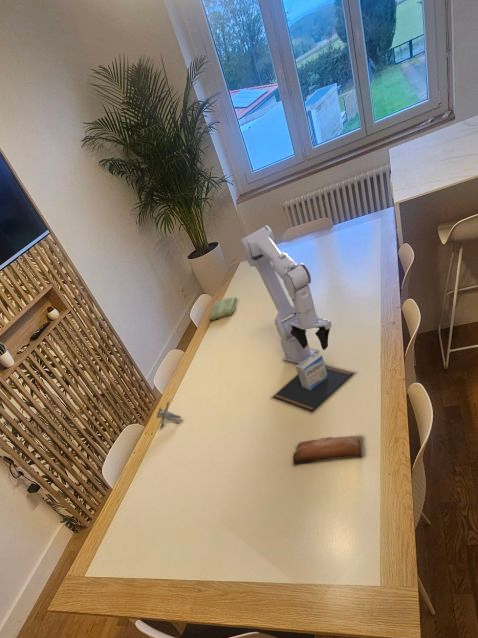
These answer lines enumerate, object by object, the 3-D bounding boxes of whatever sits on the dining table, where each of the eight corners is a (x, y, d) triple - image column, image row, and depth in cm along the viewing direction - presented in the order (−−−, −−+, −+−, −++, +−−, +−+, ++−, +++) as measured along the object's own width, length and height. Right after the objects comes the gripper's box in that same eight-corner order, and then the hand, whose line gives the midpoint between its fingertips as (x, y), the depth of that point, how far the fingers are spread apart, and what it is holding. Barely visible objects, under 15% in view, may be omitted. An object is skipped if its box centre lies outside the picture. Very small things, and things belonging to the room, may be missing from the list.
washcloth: (238, 298, 209) (235, 292, 207) (233, 315, 197) (231, 309, 195) (214, 306, 214) (212, 300, 212) (209, 322, 202) (206, 317, 199)
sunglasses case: (361, 434, 112) (357, 427, 106) (363, 459, 110) (360, 454, 104) (297, 443, 119) (290, 437, 113) (298, 467, 117) (291, 462, 111)
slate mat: (273, 397, 139) (272, 396, 139) (312, 363, 145) (311, 362, 145) (312, 412, 127) (311, 410, 126) (353, 373, 132) (352, 372, 132)
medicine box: (310, 391, 133) (303, 369, 128) (301, 387, 137) (294, 365, 131) (328, 377, 135) (322, 355, 129) (319, 374, 138) (313, 352, 133)
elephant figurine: (172, 432, 147) (151, 425, 150) (180, 433, 153) (159, 425, 155) (180, 405, 145) (158, 398, 148) (187, 407, 151) (166, 400, 154)
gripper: (332, 300, 120) (341, 341, 129) (292, 301, 129) (302, 338, 138) (320, 314, 117) (330, 354, 126) (279, 313, 127) (291, 351, 135)
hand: (315, 347), depth 132 cm, fingers open, 7 cm apart
